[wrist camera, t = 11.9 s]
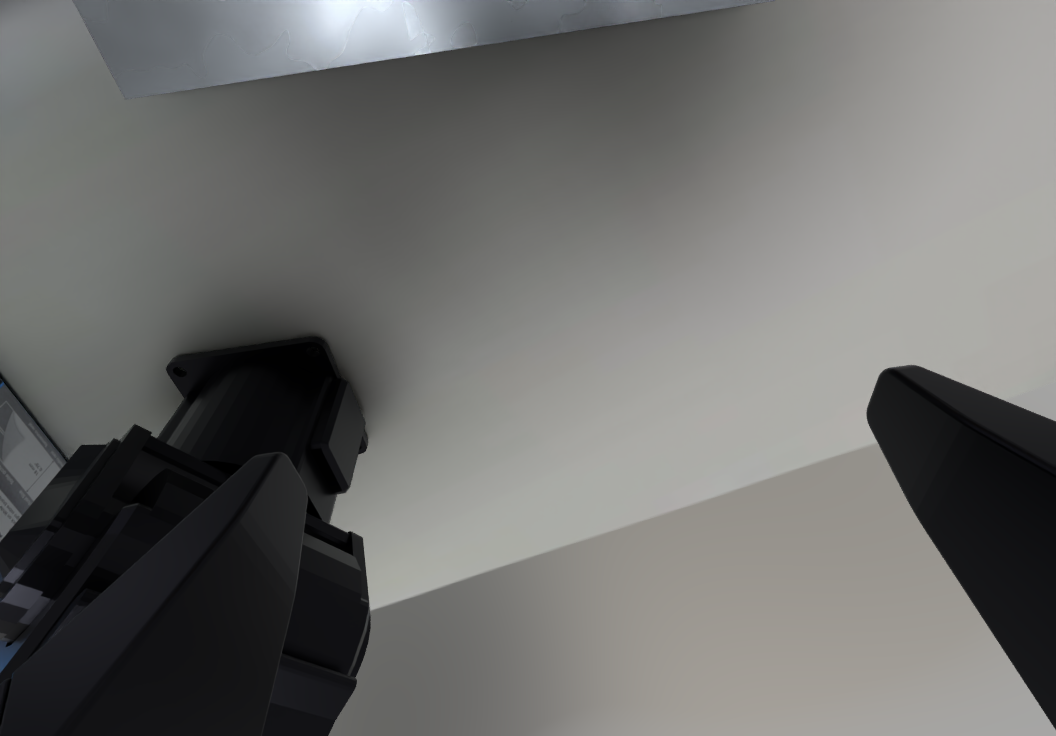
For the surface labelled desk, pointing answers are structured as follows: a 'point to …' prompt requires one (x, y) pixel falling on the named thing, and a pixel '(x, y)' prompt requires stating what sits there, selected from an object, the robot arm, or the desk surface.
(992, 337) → the desk surface
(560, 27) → the orange-framed metal plate
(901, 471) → the robot arm
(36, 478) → the label tape cartridge
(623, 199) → the desk surface
